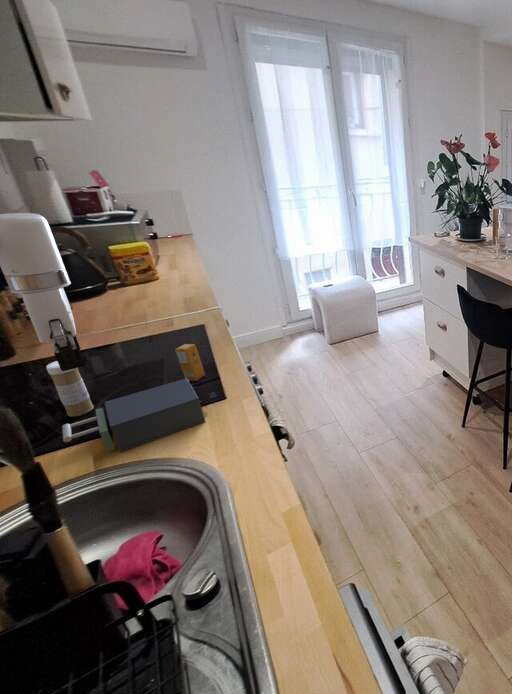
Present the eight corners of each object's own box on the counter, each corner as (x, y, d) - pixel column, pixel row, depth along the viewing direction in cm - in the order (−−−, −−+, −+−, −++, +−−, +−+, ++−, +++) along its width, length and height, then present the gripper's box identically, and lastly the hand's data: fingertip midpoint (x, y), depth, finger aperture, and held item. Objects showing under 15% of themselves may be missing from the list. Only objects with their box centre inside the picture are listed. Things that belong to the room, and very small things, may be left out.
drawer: (71, 464, 81) (62, 444, 80) (69, 438, 88) (61, 419, 87) (189, 422, 94) (183, 405, 93) (178, 402, 101) (173, 386, 100)
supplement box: (193, 375, 115) (184, 343, 112) (205, 375, 115) (196, 343, 112) (184, 381, 112) (174, 348, 109) (196, 381, 112) (186, 349, 109)
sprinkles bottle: (78, 407, 100) (57, 358, 95) (100, 405, 101) (80, 357, 96) (61, 418, 96) (39, 368, 91) (84, 417, 97) (62, 367, 92)
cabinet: (120, 452, 86) (110, 426, 84) (114, 426, 94) (104, 401, 92) (205, 421, 96) (198, 398, 94) (193, 400, 104) (186, 378, 102)
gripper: (8, 274, 80) (42, 352, 86) (7, 295, 69) (45, 382, 75) (65, 267, 85) (93, 341, 91) (71, 286, 75) (102, 368, 81)
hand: (71, 360), depth 83 cm, fingers open, 9 cm apart
